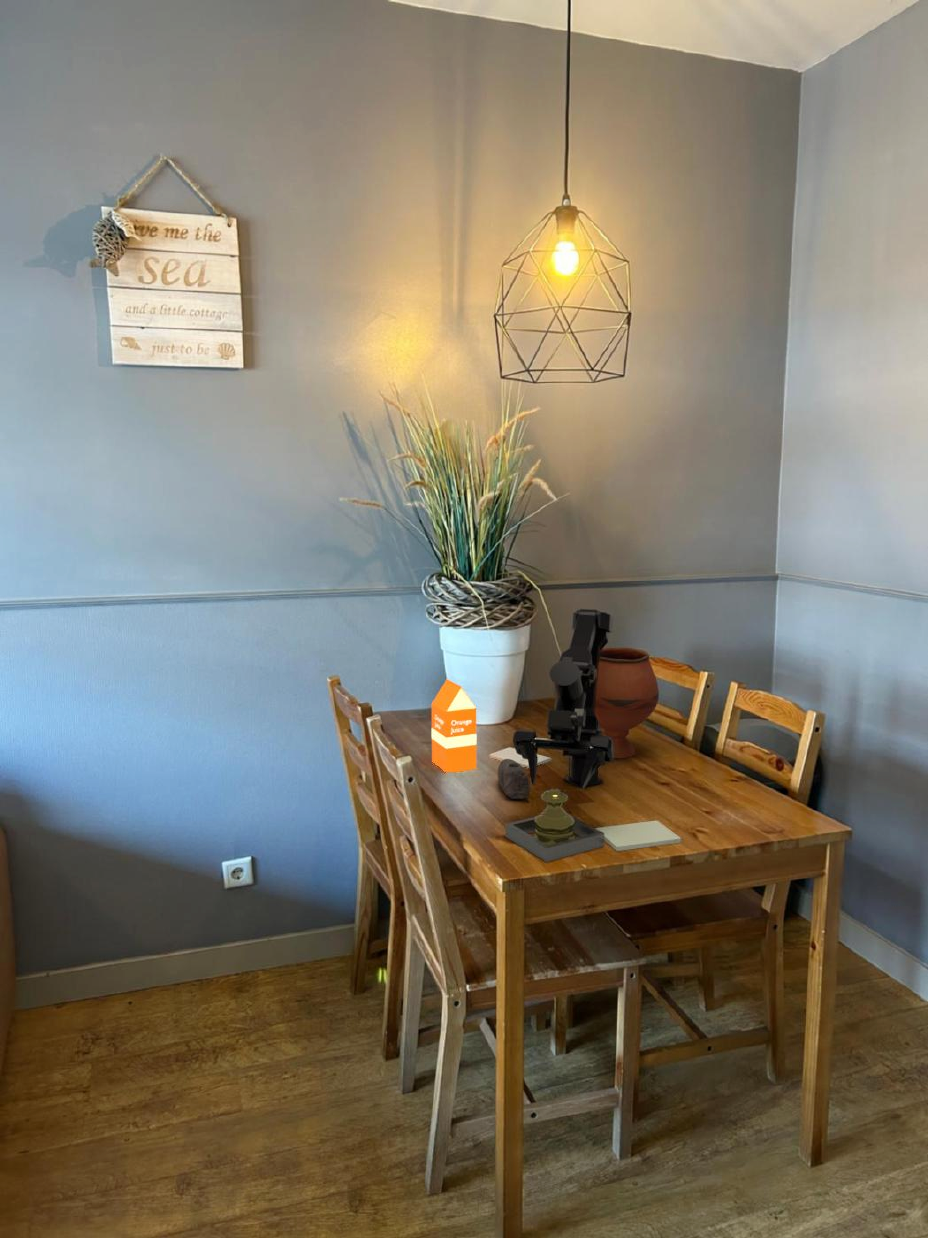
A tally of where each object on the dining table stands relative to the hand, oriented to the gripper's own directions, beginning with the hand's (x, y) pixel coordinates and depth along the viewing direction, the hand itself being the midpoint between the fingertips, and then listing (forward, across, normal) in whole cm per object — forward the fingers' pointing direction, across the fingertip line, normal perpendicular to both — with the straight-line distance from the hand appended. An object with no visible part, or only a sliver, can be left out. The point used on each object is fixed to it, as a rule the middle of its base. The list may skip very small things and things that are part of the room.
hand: (557, 786), depth 164 cm
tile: (+4, +15, +10) cm, 18 cm away
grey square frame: (+9, 0, +5) cm, 10 cm away
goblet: (-32, +5, +45) cm, 56 cm away
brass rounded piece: (+9, 0, +6) cm, 10 cm away
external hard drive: (-23, -17, +38) cm, 47 cm away
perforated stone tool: (-8, -14, +22) cm, 27 cm away
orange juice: (-17, -30, +31) cm, 47 cm away
